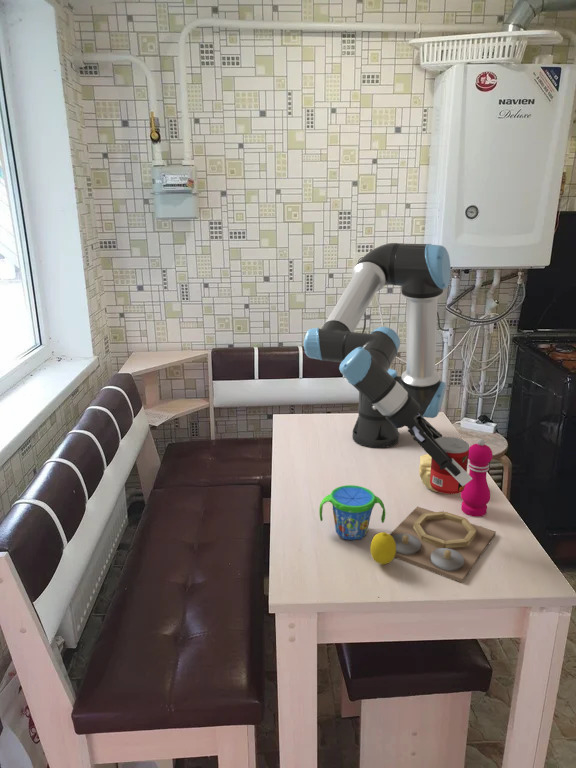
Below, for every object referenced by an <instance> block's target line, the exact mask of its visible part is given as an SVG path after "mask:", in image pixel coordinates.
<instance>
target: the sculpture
mask: <svg viewBox="0 0 576 768" xmlns="http://www.w3.org/2000/svg"><path fill="white" fill-rule="evenodd" d="M431 459H432V457H431V456H430V455H429V454H428V453H426V454H423V455H420V457H419V466H418V473H419V478H420V480H421V481H422V483H423V485H424V487H426V488H427V489H428V490H430V491H432V492H436V493H441V492H438V491H436V490H434V489H433V488H432V487H431V484H430V472H431Z"/></svg>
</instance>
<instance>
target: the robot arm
mask: <svg viewBox="0 0 576 768" xmlns="http://www.w3.org/2000/svg"><path fill="white" fill-rule="evenodd" d="M451 271H452V270H451V259H450V254H449V251H448V250H447V248H446V247H445V246H443V245H441V244H440V245H439V244H431V243H397V242H390V243H385V244H383V245H380V246H377V247H376V248H374V249H371V250H370V251H369V252H367V253H366V254H365V255H364V256H362V257H361V258H360V259H359V260H358V262H357V263H356V265H354V268H353V269H352V271H351V272H352V273H351V280H350V281H349V282H348V284H347V286H346V287H345V289H344V291H343V292H342V295H341V296H340V298H339V299H338V301H337V303H336V305H335V306H334V307H333V309H332V311H330V314H329V316H328V318H327V319H326V321H325V322H324V324H323V326H322V327H321V328H319V327H313V328H310V329H308V330H307V331H306V334H305V335H304V339H303V349H304V353H305V355H306V356H307V357H308V358H309V359H314V360H319V361H326V362H334V363H340V364H339V367H338V369H339V371H340V373H341V375H342V376H343V377H344V378H345V379H346V380H347V382H348V383H349V384H350V385H352V386H353V388H355V389H356V390H357V391H358V392H359V393H358V416H357V418H356V422H355V424H354V425H353V426H354V427H353V430H352V435H351V436H352V440H353V441H354V442H355V443H356V444H357V445H361V446H363V447H369V448H377V449H379V448H381V449H382V448H390V447H392V446H395V445H397V444H398V442H399V440H400V432H399V429H402V428H403V427H404V428H405V427H407V428H408V429H407V432H408V433H409V434H410V436H412V439H413V441H415V442H416V443H417V444H418V445H420V447H421V448H422V449H423V450H424V451H425V452H426V454H429V455H430V456H431V457H432V458H433V460H434V461H435V462H436V463H437V464H438V465H439V466H440V469H441V470H442V469H446V470H447V471H448V472H449V473H450V474H451V475H452V476H453V477H454V478H455V479H456V480H457V481H458V482H459V483H460V484H461V485H462V486H464V485H465V484H467V483H468V482H469V481H471V480H472V477H471V476H470V475H469V473H468V471H467V472H466V471H465V470H464V469H463V468H462V467H461V466H460V465H459V464H458V463H457V462H456V461H455V460H454V459H453V458H450V457H449V456H448V454H447V453H446V452H445V451H444V450H443V449H442V447H441V446H440V445H439V444H438V443H437V441H436V440H435V439H436V438H440V437H447V436H443V435H442V433H440V431H439V430H437V429H436V428H435V426H434V425H432V424H431V423H430V422H429V421H427V418H429V419H434V418H436V417H437V416H438V415H439V413H440V411H441V408H442V404H443V401H444V397H445V393H446V389H447V388H446V387H447V386H446V385H447V384H446V382H445V381H443V380H441V375H440V373H439V372H438V371H437V370H436V359H437V358H436V357H437V331H438V330H437V329H438V327H437V326H438V325H437V323H438V322H437V321H438V298H440V297H441V296H442V295H443V294H444V289H448V287H449V285H450V282H451V273H452V272H451ZM385 286H398V287H401V288H400V293H401V296H403V297H404V298H405V299H406V343H405V344H406V345H405V346H406V347H405V348H406V351H405V352H406V357H405V358H406V360H405V361H406V363H405V364H406V368H405V369H406V370H404V371H403V372H402V373H401V376H400V375H398V372H397V370H396V369H392V368H391V366H392V364H393V362H394V361H395V358H396V357H397V355H398V352H399V348H400V346H401V340H400V336H399V335H398V333H397V332H396V331H395V330H393V329H392V328H390V327H387V326H379V327H376V328H375V329H373V330H372V331H371V333H367V332H355V331H356V329H357V328H358V325H359V324H360V322H361V320H362V318H363V317H364V315H365V314H366V313H365V312H366V311H367V310H368V308H369V306H370V304H371V302H372V300H373V299H374V297H375V295H376V293H377V292H380V291H381V290H382V289H383V288H384V287H385Z"/></svg>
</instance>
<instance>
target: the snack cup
mask: <svg viewBox="0 0 576 768" xmlns="http://www.w3.org/2000/svg"><path fill="white" fill-rule="evenodd" d="M328 502H329V503H331V505H332V513H333V521H334V530H335V533H336V534H337V535H338V536H339V537H340V538H342V539H343V540H349V541H355V540H360V541H361V540H362V539H363V538H364V537H365V536H366V535H367V533H368V530H369V527H370V526H369V525H370V520H371V515H372V511H373V510H374V507H375V504H379V505H380V508H382V512H381V513H382V514H381V517H380V519H381V523H382V524H383V523H384V522H385V520H386V507H385V504H384V502H383V501H382V499H381V498H380V497H378V496H377V495H375V493H374V492H373V491H372V490H371V489H368V488H366V487H364V486H359V485H354V484H351V485H349V484H348V485H347V484H346V485H341V486H338V487H335V488H334V489H333V490H332V491H331V493H329V494H327V495H326V496H325V497H324V498H322V500H321V501H320V505H319V507H318V508H319V510H318V511H319V512H318V513H319V520H320V522H323V520H324V519H323V506H324V505H325V504H326V503H328Z"/></svg>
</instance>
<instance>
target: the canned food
mask: <svg viewBox="0 0 576 768" xmlns="http://www.w3.org/2000/svg"><path fill="white" fill-rule="evenodd" d="M435 440H436V441H437V443H438V444H439V445H440V446H441V447H442V449H443V450H444V451H445V452H446V453H447V454H448V456H449V457H450V458H453V459H454V460H455V461H456V462H457V463H458V464H459V465H460V466H461V467H462V468H463V469H464V470H465V471H466V472H467V473H468V465H469V464H468V462H469V459H468V456H469V447H470V444H469V443H468V442H467V441H466V440H464V439H461V438H458V437H454V436H446V437H445V436H443V437H440V438H436V439H435ZM430 484H431V487H432V488H433V489H434V490H436V491H438V492H437V493H440V492H441V493H442V494H446V495H456V494H457V495H458V494H461V492H462V491H463V490H464V488H465V485H464V486H462V485H461V484H460V483H459V482H458V481H457V480H456V479H455V478H454V477H453V476H452V475H451V474H450V473H449V472H448V471H447V470H446V469H442V470H441V469H440V466H439V465H438V464H437V463H436V462H435V461H434V460H433V458H432V459H431V472H430Z"/></svg>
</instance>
